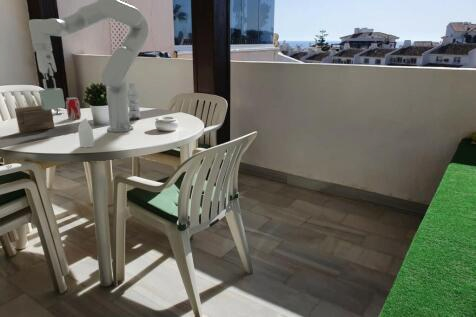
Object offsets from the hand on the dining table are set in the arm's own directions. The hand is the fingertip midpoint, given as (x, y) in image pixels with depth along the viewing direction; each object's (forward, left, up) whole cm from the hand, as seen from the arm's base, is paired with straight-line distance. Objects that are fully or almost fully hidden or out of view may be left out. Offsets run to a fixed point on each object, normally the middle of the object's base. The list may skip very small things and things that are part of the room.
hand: (50, 87), depth 170 cm
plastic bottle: (+2, -45, -22) cm, 50 cm away
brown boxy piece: (+14, +5, -22) cm, 26 cm away
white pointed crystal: (-36, 0, -22) cm, 42 cm away
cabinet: (0, 0, -10) cm, 10 cm away
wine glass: (+48, -18, -22) cm, 56 cm away
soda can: (+27, -20, -22) cm, 40 cm away
